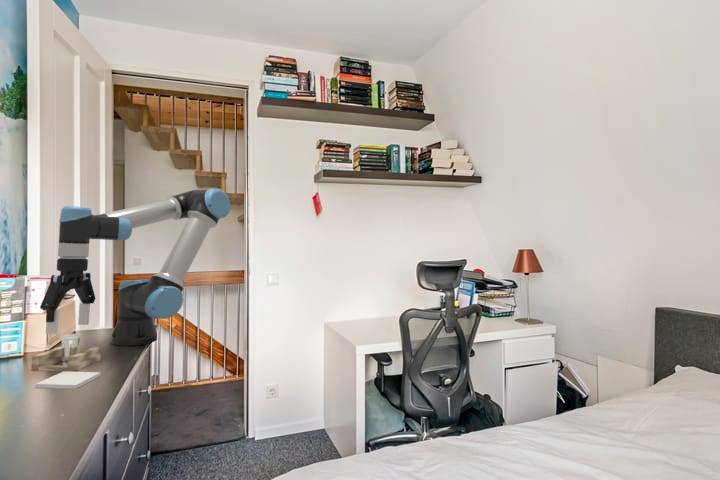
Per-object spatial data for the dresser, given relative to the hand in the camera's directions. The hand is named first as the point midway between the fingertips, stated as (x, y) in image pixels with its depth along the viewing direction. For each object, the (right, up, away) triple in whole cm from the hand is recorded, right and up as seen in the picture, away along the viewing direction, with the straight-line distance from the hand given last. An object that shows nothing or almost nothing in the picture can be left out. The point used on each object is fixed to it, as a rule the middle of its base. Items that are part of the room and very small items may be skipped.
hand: (68, 328), depth 118 cm
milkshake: (0, -11, 0) cm, 11 cm away
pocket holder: (0, -11, 0) cm, 11 cm away
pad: (+10, -11, -14) cm, 20 cm away
